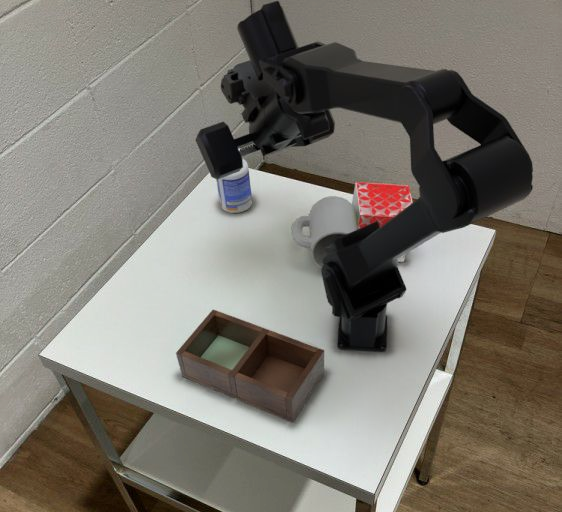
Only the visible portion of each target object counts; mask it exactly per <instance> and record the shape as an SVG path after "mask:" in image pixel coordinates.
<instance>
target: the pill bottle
mask: <svg viewBox="0 0 562 512" xmlns="http://www.w3.org/2000/svg"><path fill="white" fill-rule="evenodd" d="M240 149H242V148H239V149H238V150H239V151H240ZM242 161H243V168H242V169H241V170H240V171H239V172H236V173H233V174H231V175H228V176H226V177H223V178H220V179H218V180H217V179H215V181H216V186H217V193H218V194H217V195H218V200H219V204H220V207H221V209H222V210H223V211H225V212H227V213H230V214H231V213H232V214H238V213H242V212H245V211H247V210H249V209H250V208H251V206H252V204H253V197H252V188H251V187H252V186H251V179H250V169H249V164H248V162H247V161H246V159H244V157H242Z"/></svg>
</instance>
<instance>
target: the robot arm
mask: <svg viewBox="0 0 562 512" xmlns="http://www.w3.org/2000/svg"><path fill="white" fill-rule="evenodd" d="M236 30H237V32H238V35H239V37H240V39H241V42H242V45H243V47H244V49H245V51H246V54H247V57H248V59H249V60H246V61H243V62H240V63H237V64H235V65H234V66H233V68H231V69H227V71H226V72H227V73H226V74H224V75H223V77H222V78H221V81H220V91H221V93H222V94H223V96H224V97H225V99H226V101H227V102H228V104H230V105H233V104H235V103H236V104H238V105H239V106H241V105H242V107H243V108H244V109H243V111H242V112H241V116H242V119H243V121H244V123H245V124H247V123H248V124H249V125H248V133H246V134H245V135H241V136H239V137H236V138H234V136H233V134H232V131H231V129H230V126H229V125H228V124H227V123H226V122H225V121H221V122H218V123H215V124H211V125H209V126H206V127H203V128H201V129H199V131H198V132H197V134H196V137H195V142H196V146H197V147H198V149H199V152H200V154H201V156H202V159H203V160H204V163H205V165H206V168H207V170H208V172H209V174H210V177H211V178H212V179H215V180H216V179H217V180H218V179H220V178H223V177H226V176H228V175H231V174H233V173H236V172H239V171H240V170H241V169H242V168H243V161H242V157H243V158H244V157H247V156H249V155H252V154H255V153H258V152H261V153H260V154H262V157H263V158H264V157H265V158H266V157H268V156H269V155H272V154H275V153H278V152H280V151H283V150H285V149H288V148H299V147H306V146H309V145H312V144H315V143H317V142H320V141H323V140H325V139H327V138H329V137H331V136H332V135H333V134H334V133H335V129H336V121H335V118H334V116H333V114H332V111H331V110H333V109H341V110H346V111H350V112H354V113H357V114H362V115H367V116H370V117H374V118H379V119H383V120H387V121H392V122H395V123H399V124H401V125H402V127H403V129H404V130H405V132H406V134H407V135H408V137H409V153H410V172H411V174H412V176H413V178H414V180H415V181H416V183H417V184H418V186H419V187H418V192H419V197H418V198H416V200H414V201H412V202H413V203H412V204H410V205H409V206H408V207H406V208H405V209H404V210H402V211H401V212H400V213H398V214H397V215H396V216H394V217H393V218H392V219H390V220H389V221H388V222H386V223H385V224H384V225H382V226H381V227H380V226H379V223H378V221H376V222H373V223H371V224H369V225H367V226H364V227H362V228H360V229H357V230H355V231H353V232H351V233H348V234H346V235H344V236H342V237H339V238H338V239H337V240H335V241H334V243H333V244H332V245H330V246H328V247H326V248H324V250H325V251H326V252H327V254H325V255H324V257H323V261H322V263H323V264H324V265H323V266H322V269H321V278H322V282H323V287H324V292H325V298H326V300H327V303H328V304H329V305H330V307H331V315H333V316H334V317H335V318H339V319H338V331H337V342H336V347H337V349H338V350H349V351H350V350H351V351H365V352H367V351H368V352H386V351H387V348H388V315H387V310H388V308H387V307H388V304H389V303H392V302H393V301H396V299H401V298H403V297H404V295H405V293H406V291H407V287H406V284H405V281H404V279H403V277H402V274H401V272H400V269H399V267H398V266H399V262H398V260H397V259H398V258H400V257H401V256H403V255H405V254H406V255H407V254H409V252H411V251H413V250H415V249H416V248H418V247H420V246H422V245H423V244H424V243H426V242H428V241H429V240H431V239H433V238H434V237H436V236H438V235H439V234H440V235H441V234H445V233H448V232H452V231H456V230H460V229H463V228H467V226H470V225H472V224H474V223H476V222H479V221H481V220H484V219H485V218H487V217H489V216H491V215H493V214H496V213H497V212H500V211H502V210H504V209H507V208H509V207H510V206H513V205H515V204H518V203H519V202H521V201H524V200H526V198H527V197H528V196H529V195H530V194H531V193H532V191H533V189H534V186H533V179H534V177H533V176H534V175H533V171H534V167H533V161H532V158H531V156H530V154H529V152H528V151H527V149H526V148H525V146H524V145H523V143H522V141H521V140H520V137H518V135H517V133H516V131H515V129H514V128H513V127H512V125H511V123H510V122H509V121H508V118H506V117H505V116H504V115H503V114H501V113H500V112H499V111H498V110H496V109H494V108H493V107H492V106H490V105H489V104H487V103H486V102H484V101H483V100H481V99H480V98H478V97H477V96H476V95H474V94H473V93H472V91H471V90H470V88H469V87H468V85H467V84H466V81H465V80H464V78H463V77H462V76H461V74H459V72H458V71H456V70H453V69H447V68H441V69H439V70H433V69H425V68H418V67H411V66H402V65H394V64H388V63H381V62H374V61H373V62H372V61H366V60H362V59H360V58H358V56H357V53H356V50H354V49H353V48H351V47H348V46H346V45H344V44H341V43H339V42H336V41H335V42H330V43H323V42H320V41H315V42H311V43H308V44H305V45H302V46H299V45H298V43H297V39H296V38H295V35H294V32H293V30H292V28H291V25H290V22H289V20H288V17H287V15H286V13H285V10H284V8H283V6H282V5H281V3H280V1H279V0H274V1H271V2H267V3H264V4H263V5H262V6H261V7H260V9H258V10H257V11H255V12H253V13H251V14H250V15H248V16H246V18H244V19H243V20H241V21H239V22H238V23H237V27H236ZM445 120H447V122H448V123H449V124H450V125H451V126H453V127H454V128H456V129H457V130H459V131H460V132H462V133H463V134H464V135H466V136H467V137H469V138H471V140H473V141H475V142H476V143H478V144H479V145H477V146H475V147H473V148H471V149H468V150H466V151H463V152H461V153H458V154H456V155H454V156H451V157H449V158H447V159H444V160H442V158H441V156H440V154H439V153H438V151H437V150H436V148H435V133H434V132H435V131H434V125H435V124H438V123H440V122H443V121H445ZM239 148H241V149H240V151H239V150H238V149H239ZM406 255H405V256H406Z"/></svg>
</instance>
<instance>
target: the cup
mask: <svg viewBox="0 0 562 512" xmlns="http://www.w3.org/2000/svg"><path fill="white" fill-rule="evenodd" d="M305 227H306V228H308V231H309V236H305V234H303V228H305ZM357 228H358V224H357V218H356V213H355V210H354V207H353V205H352V202H351V201H349V200H348V199H346V198H344V197H341V196H336V195H332V196H331V195H329V196H326V197H323V198H321V199H319V200H317V201H316V202H315V203H314V204H312V206H311V208H310V210H309V213H308V215H301V216H299V217H297V218H295V220H294V221H293V223H292V225H291V227H290V233H291V236H292V240H293V241H294V242H295V243H296V245H298V246H299V247H301V248H304V249H306V250H310V252H311V253H310V255H311V259H312V262H313V263H314V264H315V265H316V266H317V267H318V268H320V269H321V270H322V266H323V265H324V264H323V263H322V261H323V257H324V255H325V254H327V252H326V251H325V250H324V248H326V247H328V246H330V245H332V244H333V243H334V241H335V240H337V239H338V238H339V237H342V236H344V235H346V234H348V233H351V232H353V231H355V230H357Z"/></svg>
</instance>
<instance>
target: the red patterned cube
mask: <svg viewBox="0 0 562 512" xmlns="http://www.w3.org/2000/svg"><path fill="white" fill-rule="evenodd" d="M411 193H412V192H411V190H410V185H407V184H393V183H378V182H377V183H373V182H362V181H361V182H360V181H355V184H354V190H353V195H352V198H351V200H352V201H351V204H352V205H353V207H354V210H355V213H356V218H357V224H358V228H357V229H360V228H362V227H364V226H367V225H369V224H371V223H373V222H376V221H378V223H379V226H380V227H381V226H382V225H384V224H385V223H386V222H388V221H389V220H390V219H392V218H393V217H394V216H396V215H397V214H398V213H400V212H401V211H402V210H404V209H405V208H406V207H408V206H409V205H410V204H412V203H413V202H414V201H413V198H412V194H411ZM406 255H407V253H406V254H405V255H403V256H401V257H400V258H398V259H397V260H398V263H404V262H405V259H406Z"/></svg>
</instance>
